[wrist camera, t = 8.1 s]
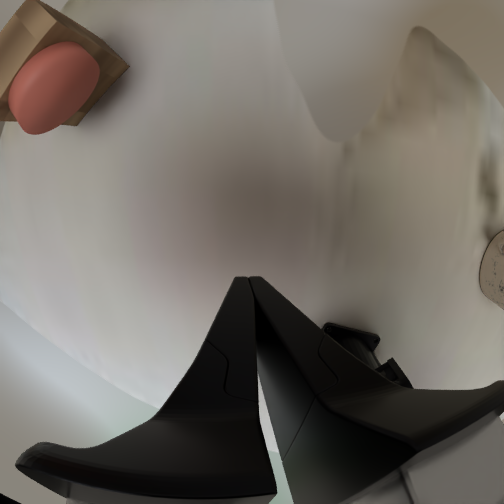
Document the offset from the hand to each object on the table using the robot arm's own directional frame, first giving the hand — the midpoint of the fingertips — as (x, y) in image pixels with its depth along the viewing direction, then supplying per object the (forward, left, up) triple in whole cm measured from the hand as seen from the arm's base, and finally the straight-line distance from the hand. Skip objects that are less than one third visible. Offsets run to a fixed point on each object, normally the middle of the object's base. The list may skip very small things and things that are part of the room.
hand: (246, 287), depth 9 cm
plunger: (+17, -7, -9) cm, 21 cm away
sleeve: (+18, -7, -14) cm, 24 cm away
